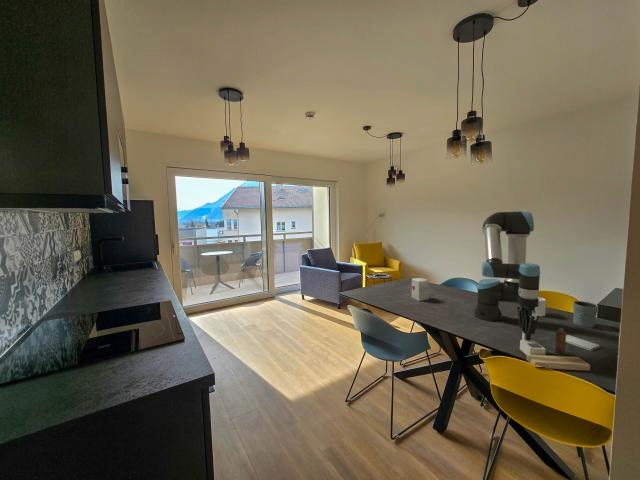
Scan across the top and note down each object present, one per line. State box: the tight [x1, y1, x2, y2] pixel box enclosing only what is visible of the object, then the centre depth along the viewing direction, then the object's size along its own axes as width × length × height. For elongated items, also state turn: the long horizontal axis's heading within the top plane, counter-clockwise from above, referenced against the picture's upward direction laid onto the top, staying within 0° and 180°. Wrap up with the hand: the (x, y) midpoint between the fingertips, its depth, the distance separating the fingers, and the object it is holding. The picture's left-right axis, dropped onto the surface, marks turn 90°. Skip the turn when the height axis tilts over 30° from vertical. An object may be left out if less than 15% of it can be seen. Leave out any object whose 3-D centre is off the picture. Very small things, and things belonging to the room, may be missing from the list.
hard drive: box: [566, 334, 601, 352], centre depth 132 cm, size 2×8×12 cm
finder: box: [519, 339, 546, 356], centre depth 123 cm, size 8×6×5 cm
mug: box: [535, 297, 547, 317], centre depth 170 cm, size 8×12×10 cm
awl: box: [554, 327, 567, 356], centre depth 124 cm, size 3×3×12 cm
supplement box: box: [411, 277, 430, 302], centre depth 206 cm, size 9×9×15 cm
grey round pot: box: [572, 300, 599, 328], centre depth 152 cm, size 10×10×12 cm
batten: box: [526, 354, 591, 372], centre depth 115 cm, size 6×20×2 cm, turn 81°
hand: (526, 345), depth 128 cm, fingers closed
